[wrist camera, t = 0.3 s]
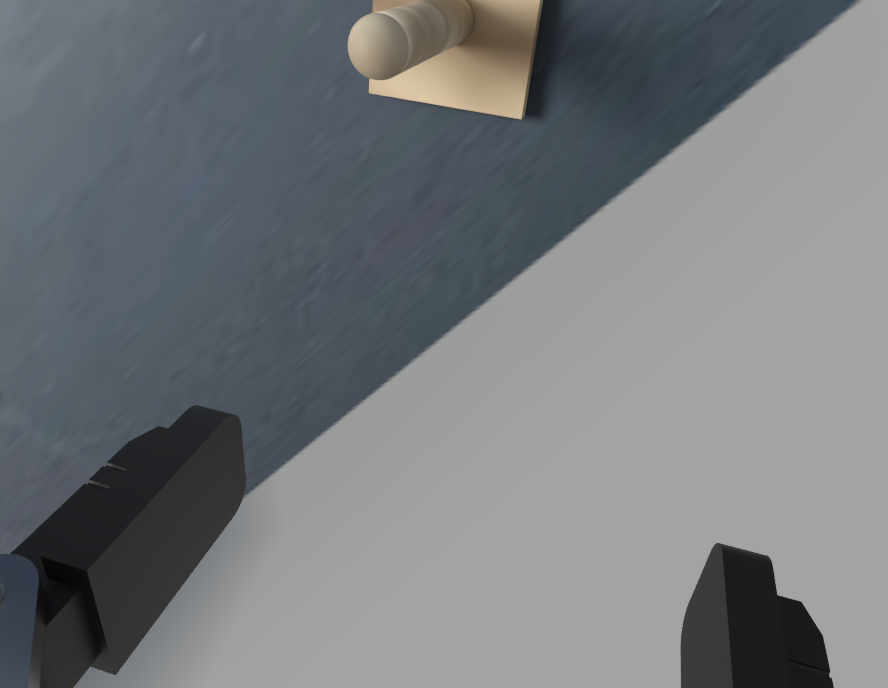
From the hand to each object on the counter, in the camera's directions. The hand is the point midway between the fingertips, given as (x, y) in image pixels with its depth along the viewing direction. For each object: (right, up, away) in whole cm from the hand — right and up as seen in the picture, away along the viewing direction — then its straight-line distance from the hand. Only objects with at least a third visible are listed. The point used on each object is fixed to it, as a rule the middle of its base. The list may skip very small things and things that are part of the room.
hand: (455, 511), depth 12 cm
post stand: (0, +19, +22) cm, 29 cm away
